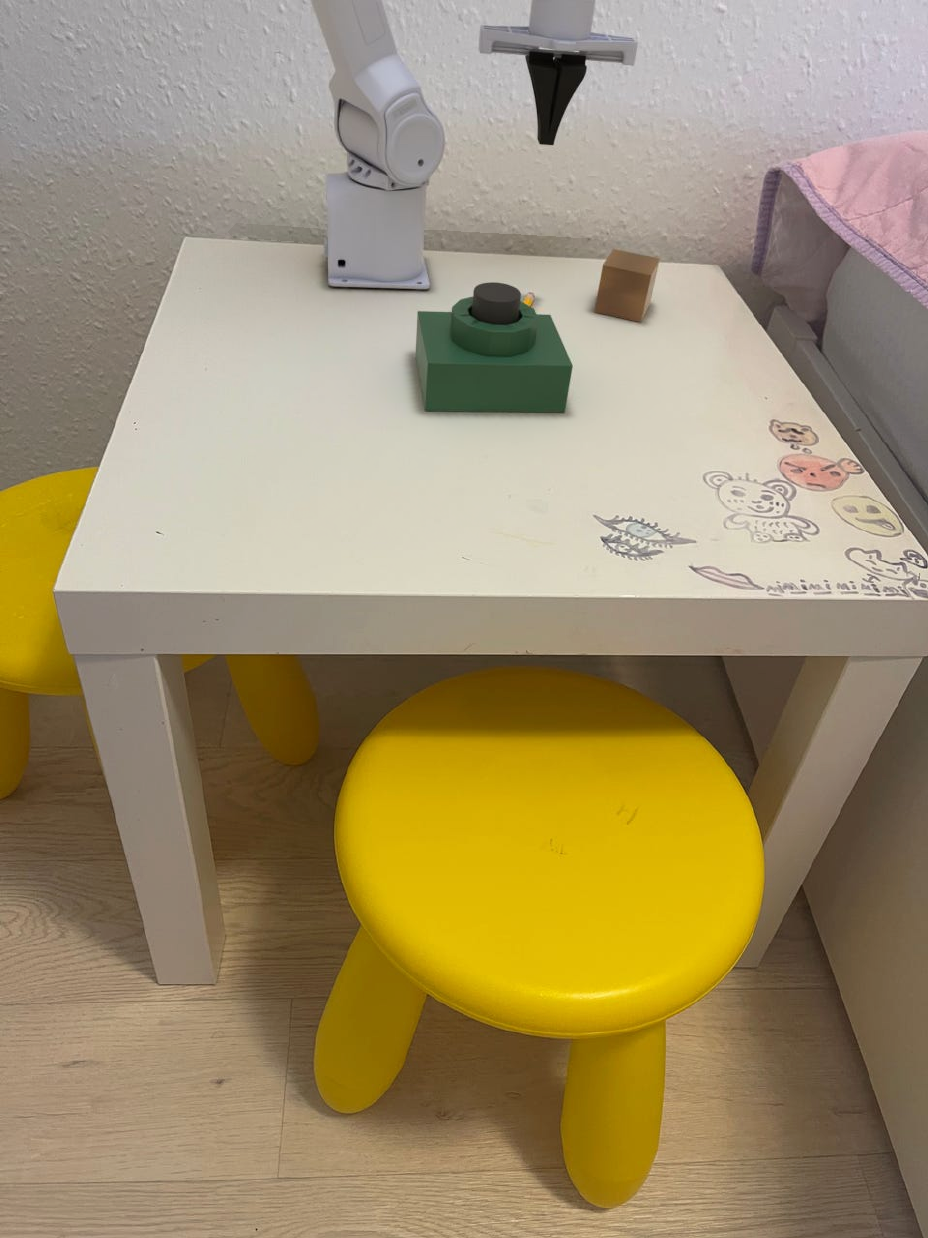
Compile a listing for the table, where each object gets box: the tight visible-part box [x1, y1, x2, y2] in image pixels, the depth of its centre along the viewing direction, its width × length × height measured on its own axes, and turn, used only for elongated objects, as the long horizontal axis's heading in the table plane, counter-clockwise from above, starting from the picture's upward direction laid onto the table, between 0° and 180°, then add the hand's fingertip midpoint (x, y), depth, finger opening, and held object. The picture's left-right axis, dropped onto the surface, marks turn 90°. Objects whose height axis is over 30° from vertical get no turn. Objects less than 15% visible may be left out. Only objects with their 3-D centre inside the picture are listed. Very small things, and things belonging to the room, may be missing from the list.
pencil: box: [522, 291, 535, 307], centre depth 85 cm, size 1×9×1 cm, turn 166°
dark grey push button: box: [472, 281, 522, 325], centre depth 70 cm, size 4×4×2 cm
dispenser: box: [414, 296, 573, 414], centre depth 72 cm, size 11×9×6 cm
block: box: [594, 248, 661, 323], centre depth 86 cm, size 4×4×4 cm
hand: (545, 141), depth 91 cm, fingers closed
